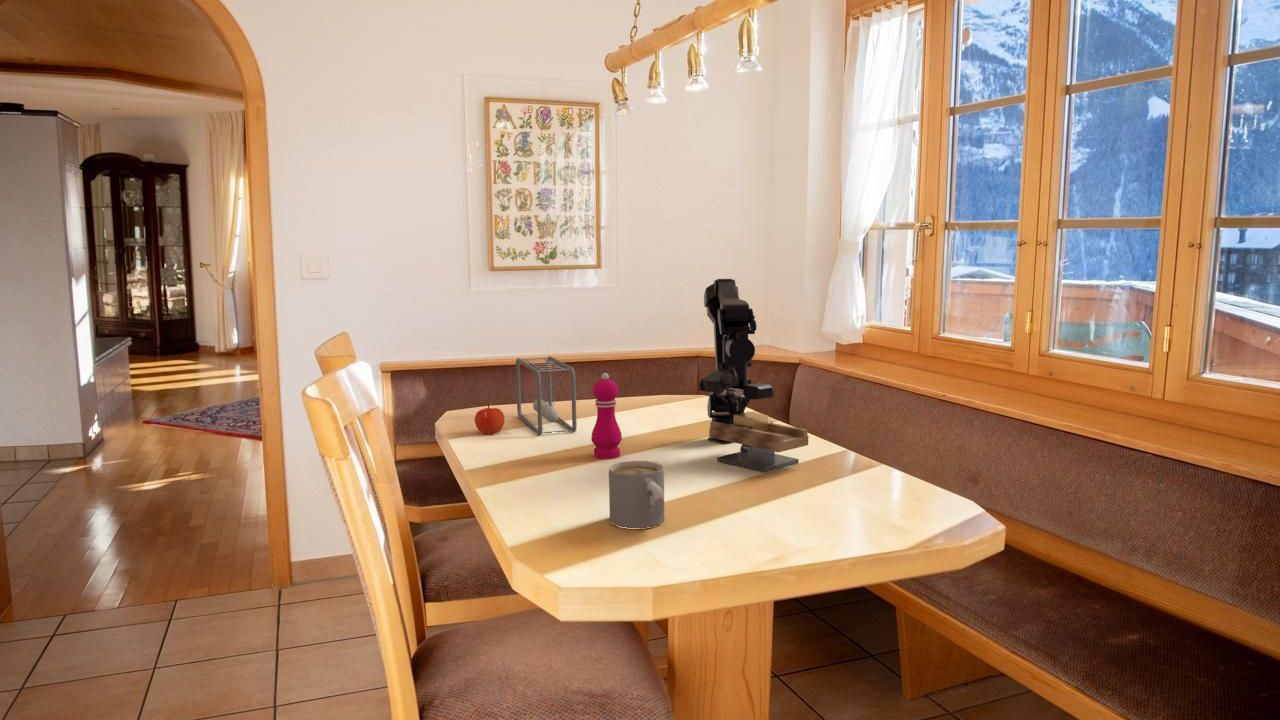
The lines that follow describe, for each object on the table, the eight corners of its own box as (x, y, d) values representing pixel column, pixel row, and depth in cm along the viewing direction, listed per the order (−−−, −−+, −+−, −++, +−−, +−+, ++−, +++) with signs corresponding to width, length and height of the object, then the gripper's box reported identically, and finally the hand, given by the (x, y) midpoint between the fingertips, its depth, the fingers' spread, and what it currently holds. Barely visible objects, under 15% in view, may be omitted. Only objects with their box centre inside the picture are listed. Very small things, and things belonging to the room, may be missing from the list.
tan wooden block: (733, 429, 199) (733, 414, 199) (748, 426, 202) (748, 411, 202) (753, 433, 195) (753, 418, 194) (767, 430, 198) (767, 415, 197)
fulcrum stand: (717, 461, 199) (717, 440, 199) (752, 452, 207) (752, 432, 206) (763, 472, 189) (763, 450, 188) (798, 463, 196) (798, 441, 196)
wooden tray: (709, 437, 202) (709, 421, 202) (738, 430, 208) (738, 415, 208) (778, 452, 186) (778, 435, 186) (808, 445, 193) (808, 428, 192)
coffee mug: (603, 516, 161) (602, 463, 159) (653, 510, 164) (653, 458, 162) (625, 538, 148) (624, 481, 147) (679, 531, 151) (678, 476, 150)
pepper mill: (586, 457, 205) (584, 374, 202) (601, 451, 211) (599, 370, 209) (612, 460, 202) (610, 375, 199) (627, 454, 208) (625, 371, 205)
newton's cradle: (577, 433, 232) (575, 368, 229) (538, 437, 228) (536, 370, 226) (551, 414, 260) (550, 355, 257) (517, 416, 256) (515, 357, 254)
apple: (500, 436, 229) (498, 407, 228) (470, 436, 230) (469, 406, 229) (509, 430, 237) (508, 401, 236) (481, 430, 238) (479, 401, 237)
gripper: (682, 357, 202) (682, 423, 204) (740, 365, 188) (740, 435, 190) (716, 353, 209) (716, 416, 211) (774, 360, 195) (774, 428, 197)
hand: (735, 424), depth 202 cm, fingers closed
